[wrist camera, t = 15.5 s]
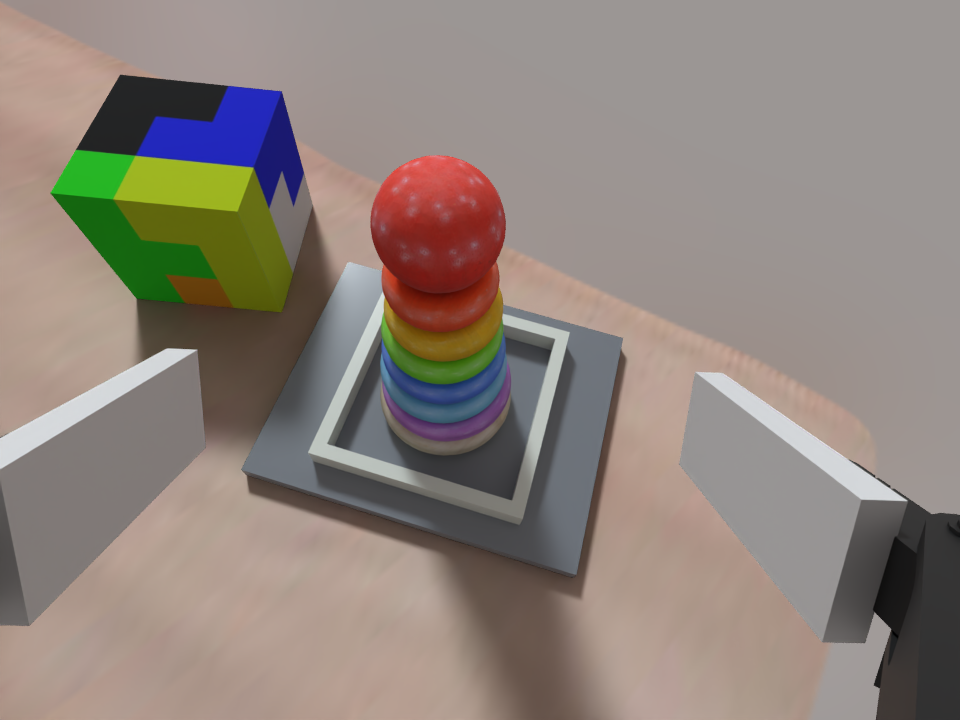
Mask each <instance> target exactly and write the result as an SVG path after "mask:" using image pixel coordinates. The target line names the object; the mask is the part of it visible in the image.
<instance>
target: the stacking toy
mask: <svg viewBox="0 0 960 720" xmlns="http://www.w3.org/2000/svg"><path fill="white" fill-rule="evenodd" d="M505 226H506V221H505V213H504V210H503V206H502V203H501V200H500V197H499V195H498V193H497V190H496V189H495V187H494V186H493V185H492V183H491V182H490V180H489V179H488V178H487V177H486V176H485V175H484V174H483V173H482V172H481V171H480V170H478V169H477V168H475V167H474V166H472V165H470V164H469V163H467V162H465V161H463V160H460V159H457V158H454V157H449V156H440V155H436V156H425V157H421V158H417V159H414V160H411V161H409V162H408V163H406V164H404V165H402V166H400V167H399V168H397V169H396V170H395V171H393V173H392V174H391V175H390V176H389V177H388V178H387V179H386V180H385V181H384V183H383V184H382V185H381V187H380V189H379V191H378V193H377V195H376V197H375V200H374V203H373V207H372V211H371V226H370V227H371V233H372V239H373V243H374V246H375V248H376V251H377V253H378V255H379V257H380V259H381V261H382V262H383V264H384V265H383V269H382V277H381V283H382V290H383V294H384V296H385V298H384V313H383V316H382V322H381V334H382V354H381V361H380V368H381V376H382V384H381V391H380V398H381V406H382V410H383V413H384V416H385V418H386V420H387V422H388V424H389V426H390V427H391V429H392V430H393V431H394V433H395V434H396V435H397V436H398V437H399V438H400V439H401V440H402V441H404V442H405V443H407V444H408V445H410V446H411V447H413V448H415V449H417V450H419V451H422V452H425V453H429V454H434V455H443V456H447V455H458V454H462V453H466V452H469V451H472V450H474V449H476V448H478V447H480V446H482V445H483V444H484V443H486V442H487V441H488V440H490V439H491V438H492V437H493V436H494V435H495V433H496V432H497V431H498V430H499V429H500V427H501V426H502V424H503V422H504V421H505V419H506V416H507V414H508V410H509V407H510V400H511V391H510V390H511V373H510V368H509V365H508V362H507V357H506V352H505V351H506V344H505V336H504V332H503V319H502V317H503V299H502V294H501V291H500V288H499V270H498V265H497V263H496V260H497V258H498V256H499V254H500V251H501V249H502V246H503V242H504V239H505V230H506V227H505Z"/></svg>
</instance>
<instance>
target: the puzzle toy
mask: <svg viewBox="0 0 960 720" xmlns="http://www.w3.org/2000/svg"><path fill="white" fill-rule="evenodd" d="M51 194H52V196H53V197H54V198H55V199H56V201H57V202H58V203H59V204H60V205H61V207H62V208H63V209H64V210H65V212H66V213H67V214H68V215H69V216H70V218H71V219H72V220H73V221H74V223H75V224H76V225H77V226H78V227H79V229H80V230H81V231H82V232H83V234H84V235H85V236H86V237H87V239H88V240H89V241H90V242H91V243H92V245H93V246H94V247H95V248H96V250H97V251H98V252H99V253H100V254H101V256H102V257H103V258H104V259H105V261H106V262H107V263H108V264H109V265H110V267H111V268H112V269H113V270H114V272H115V273H116V274H117V275H118V276H119V278H120V279H121V280H122V281H123V283H124V284H125V285H126V286H127V287H128V289H129V290H130V291H131V292H132V294H133V295H134V296H135V297H136V298H137V299H146V300H157V301H167V302H178V303H188V304H199V305H209V306H220V307H230V308H241V309H251V310H262V311H272V312H282V311H283V307H284V304H285V300H286V297H287V293H288V290H289V286H290V283H291V279H292V276H293V272H294V269H295V265H296V262H297V258H298V255H299V251H300V248H301V245H302V241H303V238H304V234H305V231H306V227H307V224H308V220H309V217H310V213H311V210H312V206H313V204H312V200H311V197H310V193H309V189H308V186H307V182H306V178H305V175H304V171H303V167H302V164H301V160H300V156H299V153H298V149H297V145H296V142H295V138H294V135H293V131H292V127H291V124H290V120H289V116H288V112H287V109H286V105H285V102H284V98H283V94H282V91H272V90H263V89H253V88H243V87H234V86H224V85H214V84H205V83H194V82H185V81H175V80H166V79H156V78H146V77H137V76H127V75H120V76H119V78H118V80H117V81H116V83H115V85H114V86H113V88H112V90H111V91H110V93H109V95H108V96H107V98H106V100H105V102H104V103H103V105H102V107H101V108H100V110H99V112H98V113H97V115H96V117H95V118H94V120H93V122H92V124H91V125H90V127H89V129H88V130H87V132H86V134H85V135H84V137H83V139H82V141H81V142H80V144H79V146H78V147H77V149H76V151H75V152H74V154H73V156H72V157H71V159H70V161H69V163H68V164H67V166H66V168H65V169H64V171H63V173H62V174H61V176H60V178H59V179H58V181H57V183H56V185H55V186H54V188H53V190H52V191H51Z"/></svg>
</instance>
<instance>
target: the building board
mask: <svg viewBox="0 0 960 720" xmlns="http://www.w3.org/2000/svg"><path fill="white" fill-rule="evenodd" d="M381 277H382V271H380V270H376V269H372V268H369V267H365V266H362V265H358V264H354V263H351V262H348V264H347V266H346V268H345V270H344V272H343V274H342V276H341V277H340V279H339V281H338V283H337V285H336V287H335V289H334V291H333V293H332V295H331V297H330V299H329V301H328V303H327V305H326V306H325V308H324V310H323V312H322V314H321V316H320V318H319V320H318V322H317V324H316V326H315V328H314V330H313V332H312V334H311V336H310V337H309V339H308V341H307V343H306V345H305V347H304V349H303V351H302V353H301V355H300V357H299V359H298V361H297V363H296V365H295V366H294V368H293V370H292V372H291V374H290V376H289V378H288V380H287V382H286V384H285V386H284V388H283V390H282V392H281V394H280V396H279V397H278V399H277V401H276V403H275V405H274V407H273V409H272V411H271V413H270V415H269V417H268V419H267V421H266V423H265V425H264V426H263V428H262V430H261V432H260V434H259V436H258V438H257V440H256V442H255V444H254V446H253V448H252V450H251V452H250V454H249V456H248V457H247V459H246V461H245V463H244V465H243V467H242V469H241V470H242V471H243V472H244V473H245V474H246V475H248V476H251V477H255V478H258V479H261V480H264V481H267V482H270V483H274V484H277V485H280V486H283V487H286V488H290V489H293V490H296V491H299V492H302V493H305V494H309V495H312V496H315V497H318V498H321V499H324V500H328V501H331V502H334V503H337V504H340V505H343V506H347V507H350V508H353V509H356V510H359V511H363V512H366V513H369V514H372V515H375V516H378V517H382V518H385V519H388V520H391V521H394V522H397V523H401V524H404V525H407V526H410V527H413V528H416V529H420V530H423V531H426V532H429V533H432V534H436V535H439V536H442V537H445V538H448V539H451V540H455V541H458V542H461V543H464V544H467V545H470V546H474V547H477V548H480V549H483V550H486V551H489V552H493V553H496V554H499V555H502V556H505V557H509V558H512V559H515V560H518V561H521V562H524V563H528V564H531V565H534V566H537V567H540V568H543V569H547V570H550V571H553V572H556V573H559V574H562V575H566V576H569V577H572V578H573V577H574V576H576V574H577V569H578V564H579V559H580V554H581V549H582V544H583V539H584V534H585V529H586V524H587V519H588V514H589V508H590V503H591V498H592V493H593V488H594V483H595V478H596V473H597V468H598V463H599V458H600V453H601V447H602V442H603V437H604V432H605V427H606V422H607V417H608V412H609V407H610V402H611V397H612V392H613V387H614V381H615V376H616V371H617V366H618V361H619V356H620V351H621V346H622V341H623V338H621V337H617V336H613V335H610V334H606V333H603V332H599V331H595V330H592V329H588V328H585V327H581V326H577V325H574V324H570V323H567V322H563V321H559V320H556V319H552V318H549V317H545V316H542V315H538V314H534V313H531V312H527V311H524V310H520V309H516V308H513V307H509V306H506V305H503V317H502V319H503V332H504V336H505V344H506V351H505V352H506V357H507V362H508V365H509V368H510V373H511V390H510V391H511V400H510V407H509V410H508V414H507V416H506V419H505V421H504V422H503V424H502V426H501V427H500V429H499V430H498V431H497V432H496V433H495V435H494V436H493V437H492V438H491V439H490V440H488V441H487V442H486V443H484V444H483V445H482V446H480V447H478V448H476V449H474V450H472V451H469V452H466V453H462V454H458V455H447V456H443V455H434V454H429V453H425V452H422V451H419V450H417V449H415V448H413V447H411V446H410V445H408V444H407V443H405V442H404V441H402V440H401V439H400V438H399V437H398V436H397V435H396V434H395V433H394V431H393V430H392V429H391V427H390V426H389V424H388V422H387V420H386V418H385V416H384V413H383V410H382V406H381V398H380V391H381V384H382V376H381V368H380V361H381V354H382V334H381V322H382V316H383V313H384V298H385V296H384V294H383V290H382V283H381Z"/></svg>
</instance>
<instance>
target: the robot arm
mask: <svg viewBox="0 0 960 720" xmlns="http://www.w3.org/2000/svg"><path fill="white" fill-rule="evenodd" d="M205 448H206V443H205V432H204V420H203V409H202V397H201V385H200V374H199V362H198V350H192V349H170V348H167V349H165V350H163V351H161V352H159V353H158V354H156V355H154V356H152V357H150V358H148V359H146V360H145V361H143V362H141V363H139V364H137V365H135V366H133V367H132V368H130V369H128V370H126V371H124V372H122V373H120V374H119V375H117V376H115V377H113V378H111V379H109V380H107V381H106V382H104V383H102V384H100V385H98V386H96V387H94V388H93V389H91V390H89V391H87V392H85V393H83V394H81V395H80V396H78V397H76V398H74V399H72V400H70V401H68V402H67V403H65V404H63V405H61V406H59V407H57V408H55V409H54V410H52V411H50V412H48V413H46V414H44V415H42V416H41V417H39V418H37V419H35V420H33V421H31V422H29V423H27V424H26V425H24V426H22V427H20V428H18V429H16V430H14V431H13V432H11V433H8V434H6V435H4V436H2V437H0V625H17V626H30V625H31V624H32V623H33V622H34V621H35V620H36V619H37V618H38V617H39V616H40V615H41V614H42V613H43V612H44V611H45V610H46V609H47V608H48V607H49V606H50V604H51V603H52V602H53V601H54V600H55V599H56V598H57V597H58V596H59V595H60V594H61V593H62V592H63V591H64V590H65V589H66V588H67V587H68V586H69V585H70V584H71V583H72V582H73V581H74V580H75V579H76V578H77V577H78V576H79V575H80V574H81V573H82V572H83V571H84V570H85V569H86V568H87V567H88V566H89V565H90V564H91V563H92V562H93V561H94V560H95V559H96V558H97V557H98V556H99V555H100V554H101V553H102V552H103V551H104V550H105V549H106V548H107V547H108V546H109V545H110V544H111V543H112V542H113V541H114V540H115V539H116V538H117V537H118V536H119V535H120V534H121V533H122V532H123V531H124V530H125V529H126V528H127V527H128V526H129V525H130V524H131V523H132V522H133V521H134V520H135V519H136V518H137V516H138V515H139V514H140V513H141V512H142V511H143V510H144V509H145V508H146V507H147V506H148V505H149V504H150V503H151V502H152V501H153V500H154V499H155V498H156V497H157V496H158V495H159V494H160V493H161V492H162V491H163V490H164V489H165V488H166V487H167V486H168V485H169V484H170V483H171V482H172V481H173V480H174V479H175V478H176V477H177V476H178V475H179V474H180V473H181V472H182V471H183V470H184V469H185V468H186V467H187V466H188V465H189V464H190V463H191V462H192V461H193V460H194V459H195V458H196V457H197V456H198V455H199V454H200V453H201V452H202V451H203V450H204V449H205ZM679 465H680V466H681V467H682V469H683V470H684V471H685V472H686V474H687V475H688V476H689V477H690V479H691V480H692V481H693V482H694V484H695V485H696V486H697V487H698V489H699V490H700V491H701V492H702V494H703V495H704V496H705V497H706V499H707V500H708V501H709V502H710V504H711V505H712V506H713V507H714V508H715V510H716V511H717V512H718V513H719V515H720V516H721V517H722V518H723V520H724V521H725V522H726V523H727V525H728V526H729V527H730V528H731V530H732V531H733V532H734V533H735V535H736V536H737V537H738V538H739V540H740V541H741V542H742V543H743V545H744V546H745V547H746V548H747V550H748V551H749V552H750V553H751V555H752V556H753V557H754V558H755V559H756V561H757V562H758V563H759V564H760V566H761V567H762V568H763V569H764V571H765V572H766V573H767V574H768V576H769V577H770V578H771V579H772V581H773V582H774V583H775V584H776V586H777V587H778V588H779V589H780V591H781V592H782V593H783V594H784V596H785V597H786V598H787V599H788V601H789V602H790V603H791V604H792V605H793V607H794V608H795V609H796V610H797V612H798V613H799V614H800V615H801V617H802V618H803V619H804V620H805V622H806V623H807V624H808V625H809V627H810V628H811V629H812V630H813V632H814V633H815V634H816V635H817V637H818V638H819V639H820V640H821V642H834V643H865V642H866V638H867V635H868V632H869V628H870V625H871V622H872V619H873V615H874V612H875V613H876V614H877V615H878V616H879V617H880V618H881V619H882V620H883V621H884V622H885V623H886V624H887V625H888V626H889V627H890V628H891V632H890V636H889V639H888V642H887V645H886V648H885V651H884V654H883V658H882V661H881V664H880V667H879V670H878V673H877V676H876V680H875V683H874V686H876V687H878V688H880V693H879V700H878V707H877V715H876V720H960V515H957V514H945V513H938V514H930V513H929V512H927V511H926V510H925V509H923V508H922V507H920V506H919V505H917V504H916V503H914V502H913V501H911V500H910V499H909V498H907V497H906V496H904V495H903V494H901V493H900V492H898V491H897V490H895V489H891V488H890V485H888V484H887V483H885V482H884V481H882V480H880V479H879V478H875V475H873V474H872V473H871V472H869V471H868V470H866V469H865V468H863V467H862V466H860V465H859V464H857V463H855V462H853V461H851V460H849V459H846V458H845V457H843V456H842V455H841V454H839V453H838V452H836V451H835V450H833V449H832V448H830V447H829V446H828V445H826V444H825V443H823V442H822V441H820V440H819V439H817V438H816V437H814V436H813V435H812V434H810V433H809V432H807V431H806V430H804V429H803V428H801V427H800V426H799V425H797V424H796V423H794V422H793V421H791V420H790V419H788V418H787V417H786V416H784V415H783V414H781V413H780V412H778V411H777V410H775V409H774V408H773V407H771V406H770V405H768V404H767V403H765V402H764V401H762V400H761V399H759V398H758V397H757V396H755V395H754V394H752V393H751V392H749V391H748V390H746V389H745V388H744V387H742V386H741V385H739V384H738V383H736V382H735V381H733V380H732V379H731V378H729V377H728V376H726V375H725V374H723V373H708V372H695V375H694V381H693V387H692V393H691V398H690V404H689V410H688V416H687V422H686V428H685V433H684V439H683V445H682V451H681V457H680V463H679Z"/></svg>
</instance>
